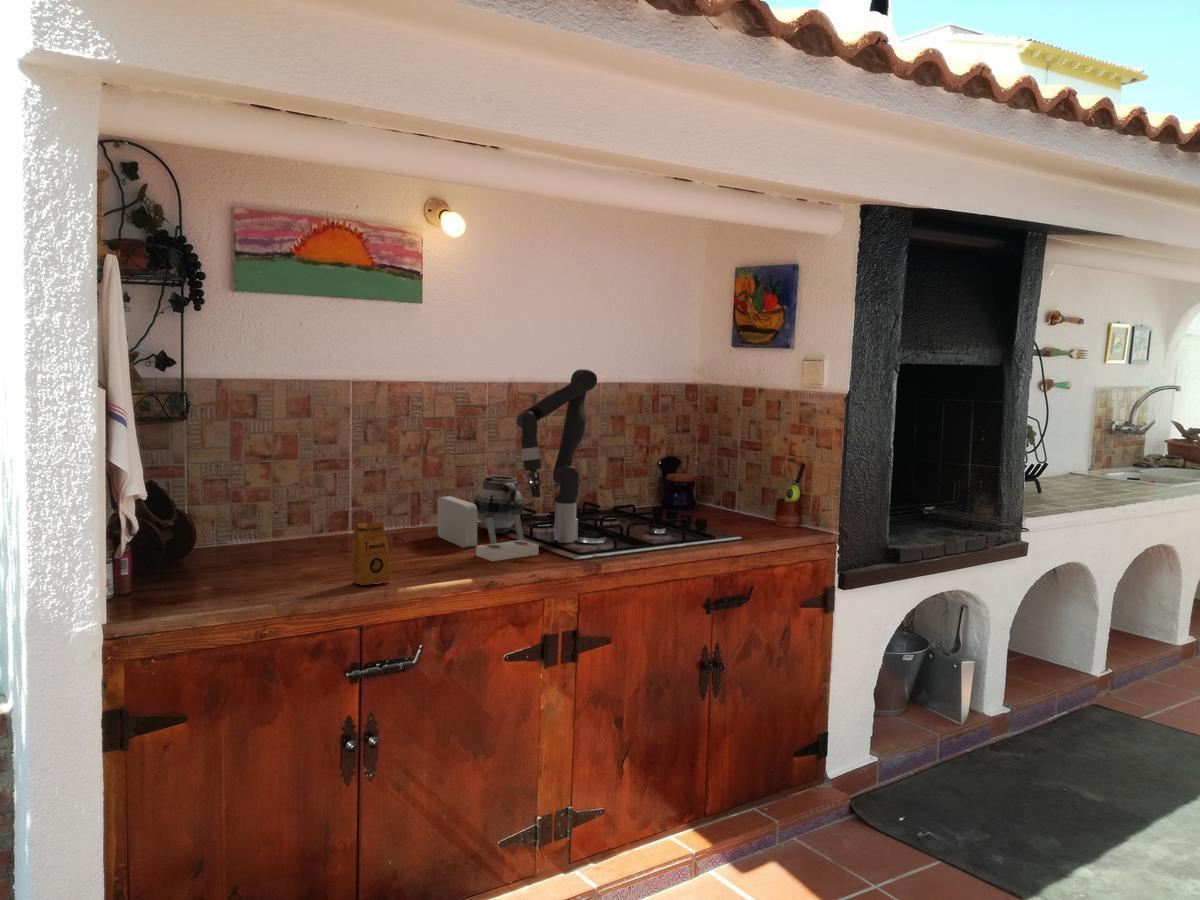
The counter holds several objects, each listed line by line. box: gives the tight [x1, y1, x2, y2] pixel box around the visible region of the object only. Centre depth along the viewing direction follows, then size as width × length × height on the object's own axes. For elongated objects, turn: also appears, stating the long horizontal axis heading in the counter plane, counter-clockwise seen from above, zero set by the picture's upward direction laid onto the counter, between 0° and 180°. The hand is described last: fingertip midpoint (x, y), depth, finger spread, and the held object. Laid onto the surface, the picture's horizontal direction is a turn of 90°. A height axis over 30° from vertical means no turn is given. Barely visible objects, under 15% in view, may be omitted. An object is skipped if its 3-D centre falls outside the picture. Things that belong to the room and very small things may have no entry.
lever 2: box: [511, 509, 525, 541], centre depth 394 cm, size 3×3×12 cm
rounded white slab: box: [437, 495, 478, 548], centre depth 413 cm, size 29×8×18 cm, turn 33°
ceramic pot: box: [473, 475, 525, 534], centre depth 438 cm, size 29×23×25 cm
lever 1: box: [484, 512, 498, 544], centre depth 386 cm, size 3×3×12 cm
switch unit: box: [475, 539, 539, 562], centre depth 389 cm, size 22×12×4 cm, turn 128°
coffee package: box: [351, 520, 391, 586], centre depth 338 cm, size 10×12×22 cm
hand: (536, 496), depth 406 cm, fingers open, 8 cm apart
